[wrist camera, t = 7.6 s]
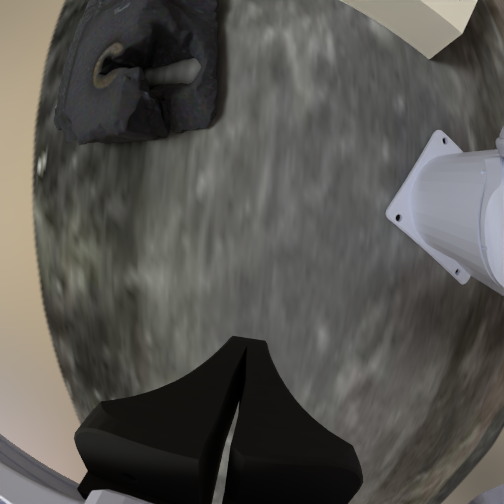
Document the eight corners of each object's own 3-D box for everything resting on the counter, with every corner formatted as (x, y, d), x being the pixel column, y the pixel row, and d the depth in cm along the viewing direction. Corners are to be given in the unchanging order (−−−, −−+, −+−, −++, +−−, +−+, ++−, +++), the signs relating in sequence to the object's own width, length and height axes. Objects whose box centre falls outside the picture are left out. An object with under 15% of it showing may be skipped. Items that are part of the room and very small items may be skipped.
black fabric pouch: (246, -61, 14) (238, -92, 10) (215, 146, 20) (196, 136, 15) (104, -35, 16) (83, -54, 11) (56, 150, 21) (19, 149, 16)
